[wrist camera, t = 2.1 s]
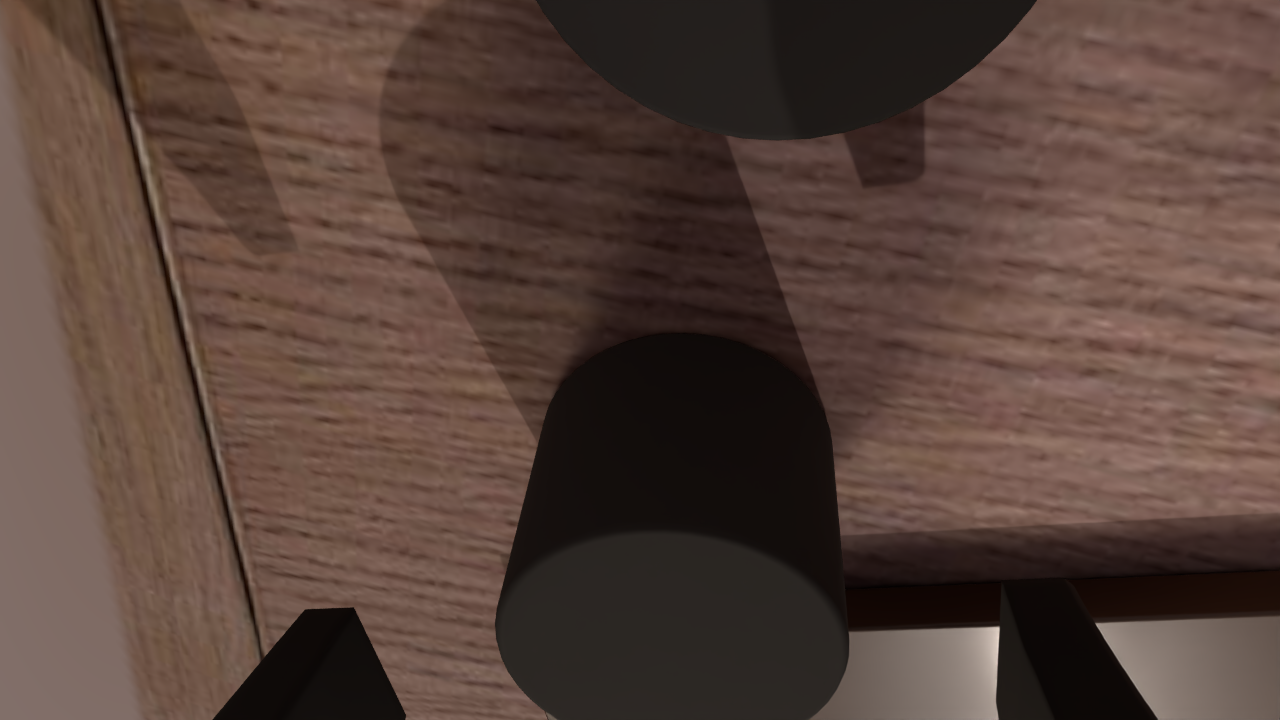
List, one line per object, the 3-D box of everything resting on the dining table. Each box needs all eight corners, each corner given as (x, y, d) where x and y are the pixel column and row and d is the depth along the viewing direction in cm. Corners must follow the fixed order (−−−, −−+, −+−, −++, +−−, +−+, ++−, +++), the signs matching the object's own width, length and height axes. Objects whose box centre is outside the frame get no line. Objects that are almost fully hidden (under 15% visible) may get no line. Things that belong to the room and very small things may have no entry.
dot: (575, 555, 16) (536, 760, 13) (513, 344, 14) (451, 538, 11) (839, 541, 15) (858, 755, 13) (821, 317, 13) (840, 516, 10)
